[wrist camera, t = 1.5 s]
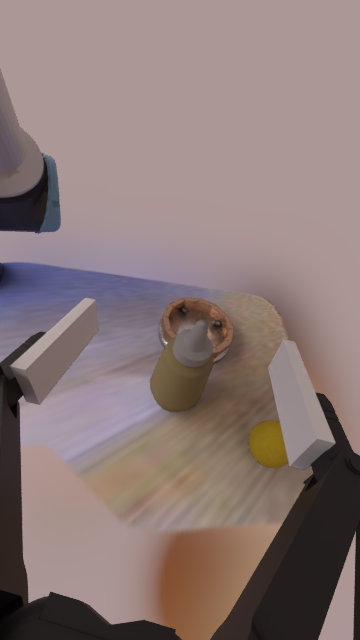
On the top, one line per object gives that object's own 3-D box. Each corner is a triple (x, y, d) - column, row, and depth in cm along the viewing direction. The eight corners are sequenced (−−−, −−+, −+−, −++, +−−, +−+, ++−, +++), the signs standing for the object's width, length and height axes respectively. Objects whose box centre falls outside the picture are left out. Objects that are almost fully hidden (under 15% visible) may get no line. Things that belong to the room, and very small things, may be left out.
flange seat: (146, 347, 41) (148, 335, 38) (172, 299, 51) (175, 287, 49) (221, 378, 40) (229, 368, 37) (233, 323, 50) (239, 312, 48)
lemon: (275, 439, 35) (307, 423, 29) (273, 478, 31) (310, 470, 25) (242, 424, 35) (267, 405, 30) (237, 461, 32) (264, 449, 26)
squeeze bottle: (205, 399, 37) (254, 334, 24) (167, 431, 32) (202, 371, 19) (175, 363, 40) (203, 289, 27) (137, 387, 36) (149, 312, 23)
